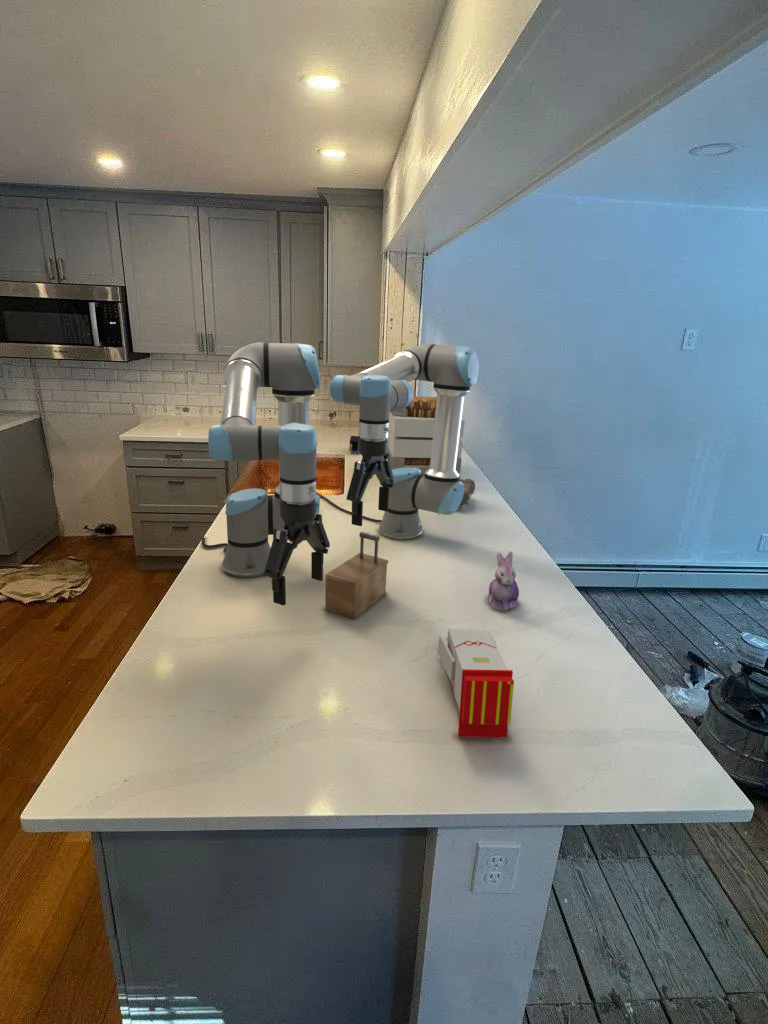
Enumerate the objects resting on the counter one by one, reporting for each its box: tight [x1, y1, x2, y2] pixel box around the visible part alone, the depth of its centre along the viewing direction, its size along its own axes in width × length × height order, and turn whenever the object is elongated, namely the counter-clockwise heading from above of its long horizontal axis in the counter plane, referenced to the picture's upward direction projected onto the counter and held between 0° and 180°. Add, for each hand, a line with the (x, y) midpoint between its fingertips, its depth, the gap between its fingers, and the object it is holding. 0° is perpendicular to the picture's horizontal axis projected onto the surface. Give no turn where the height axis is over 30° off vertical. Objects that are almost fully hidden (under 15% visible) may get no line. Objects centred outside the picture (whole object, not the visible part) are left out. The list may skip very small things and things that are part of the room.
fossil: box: [457, 478, 476, 510], centre depth 232 cm, size 22×10×15 cm
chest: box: [324, 564, 388, 620], centre depth 151 cm, size 16×9×9 cm, turn 150°
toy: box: [437, 628, 515, 738], centre depth 117 cm, size 12×13×30 cm
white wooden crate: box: [386, 395, 465, 480], centre depth 268 cm, size 34×33×41 cm
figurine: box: [487, 550, 520, 612], centre depth 153 cm, size 9×10×15 cm
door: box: [325, 531, 389, 587], centre depth 149 cm, size 17×9×9 cm, turn 150°
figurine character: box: [348, 435, 360, 455], centre depth 309 cm, size 7×8×15 cm
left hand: (299, 591), depth 125 cm, fingers open, 13 cm apart
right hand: (370, 517), depth 150 cm, fingers open, 13 cm apart
